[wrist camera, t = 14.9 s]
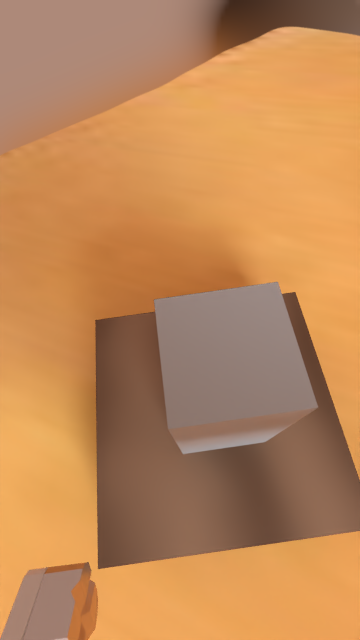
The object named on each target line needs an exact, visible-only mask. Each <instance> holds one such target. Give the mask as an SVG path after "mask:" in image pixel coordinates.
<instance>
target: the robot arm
mask: <svg viewBox="0 0 360 640" xmlns="http://www.w3.org/2000/svg"><path fill="white" fill-rule="evenodd" d="M90 576H91V568H90V566H89V563H88V562H86V563H78V564H70V565H62V566H55V567H46V568H39V569H32V570H29V571H28V572H27V574H26V575H25V577H24V578H23V581H22V583H21V586H20V589H19V591H18V594H17V596H16V599H15V602H14V604H13V607H12V609H11V612H10V615H9V617H8V620H7V623H6V625H5V628H4V630H3V633H2V636H1V638H0V640H88V639H89V637H90V636H91V634H92V633H93V631H94V630H95V627H96V620H97V610H98V596H97V589H96V585H95V583H94V582H93V581H91V580H90Z"/></svg>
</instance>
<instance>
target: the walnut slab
mask: <svg viewBox="0 0 360 640" xmlns="http://www.w3.org/2000/svg"><path fill="white" fill-rule="evenodd" d="M282 296H283V299H284V303H285V306H286V309H287V312H288V315H289V318H290V321H291V324H292V327H293V331H294V334H295V337H296V340H297V343H298V346H299V349H300V352H301V355H302V359H303V362H304V365H305V368H306V371H307V374H308V377H309V380H310V383H311V387H312V390H313V393H314V396H315V399H316V402H317V405H318V408H317V409H315V410H314V411H312V412H311V413H309V414H308V415H306V416H304V417H303V418H301V419H300V420H298V421H297V422H295V423H294V424H292V425H291V426H289V427H288V428H286V429H284V430H283V431H281V432H280V433H278V434H277V435H275V436H274V437H272V438H271V439H269V440H268V441H266V442H263V443H256V444H249V445H242V446H235V447H228V448H222V449H215V450H208V451H201V452H194V453H187V454H183V453H182V452H181V450H180V448H179V447H178V445H177V443H176V442H175V440H174V438H173V437H172V435H171V433H170V432H169V430H168V424H167V415H166V406H165V396H164V387H163V378H162V369H161V360H160V350H159V341H158V332H157V323H156V314H155V312H151V313H143V314H136V315H129V316H122V317H115V318H108V319H101V320H96V418H97V516H98V569H101V568H108V567H115V566H122V565H128V564H135V563H142V562H149V561H156V560H163V559H170V558H177V557H183V556H190V555H197V554H204V553H211V552H218V551H225V550H231V549H238V548H245V547H252V546H259V545H266V544H273V543H279V542H286V541H293V540H300V539H307V538H314V537H321V536H328V535H334V534H341V533H348V532H355V531H360V480H359V477H358V474H357V471H356V468H355V466H354V463H353V460H352V457H351V454H350V451H349V448H348V445H347V442H346V439H345V436H344V433H343V430H342V428H341V425H340V422H339V419H338V416H337V413H336V410H335V407H334V404H333V401H332V398H331V395H330V392H329V390H328V387H327V384H326V381H325V378H324V375H323V372H322V369H321V366H320V363H319V360H318V357H317V355H316V352H315V349H314V346H313V343H312V340H311V337H310V334H309V331H308V328H307V325H306V322H305V319H304V317H303V314H302V311H301V308H300V305H299V302H298V299H297V296H296V293H295V292H293V293H286V294H282Z"/></svg>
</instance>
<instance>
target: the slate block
mask: <svg viewBox="0 0 360 640" xmlns="http://www.w3.org/2000/svg"><path fill="white" fill-rule="evenodd" d="M154 305H155V314H156V323H157V332H158V341H159V350H160V360H161V369H162V378H163V387H164V396H165V406H166V415H167V424H168V430H169V432H170V433H171V435H172V437H173V438H174V440H175V442H176V443H177V445H178V447H179V448H180V450H181V452H182V453H183V454H187V453H194V452H201V451H208V450H215V449H222V448H228V447H235V446H242V445H249V444H256V443H263V442H266V441H268V440H269V439H271V438H272V437H274V436H275V435H277V434H278V433H280V432H281V431H283V430H284V429H286V428H288V427H289V426H291V425H292V424H294V423H295V422H297V421H298V420H300V419H301V418H303V417H304V416H306V415H308V414H309V413H311V412H312V411H314V410H315V409H317V408H318V405H317V402H316V399H315V396H314V393H313V390H312V387H311V383H310V380H309V377H308V374H307V371H306V368H305V365H304V362H303V359H302V355H301V352H300V349H299V346H298V343H297V340H296V337H295V334H294V331H293V327H292V324H291V321H290V318H289V315H288V312H287V309H286V306H285V303H284V299H283V296H282V293H281V290H280V287H279V284H278V282H274V283H267V284H260V285H253V286H246V287H238V288H231V289H224V290H217V291H210V292H203V293H196V294H189V295H182V296H175V297H168V298H161V299H154Z"/></svg>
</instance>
